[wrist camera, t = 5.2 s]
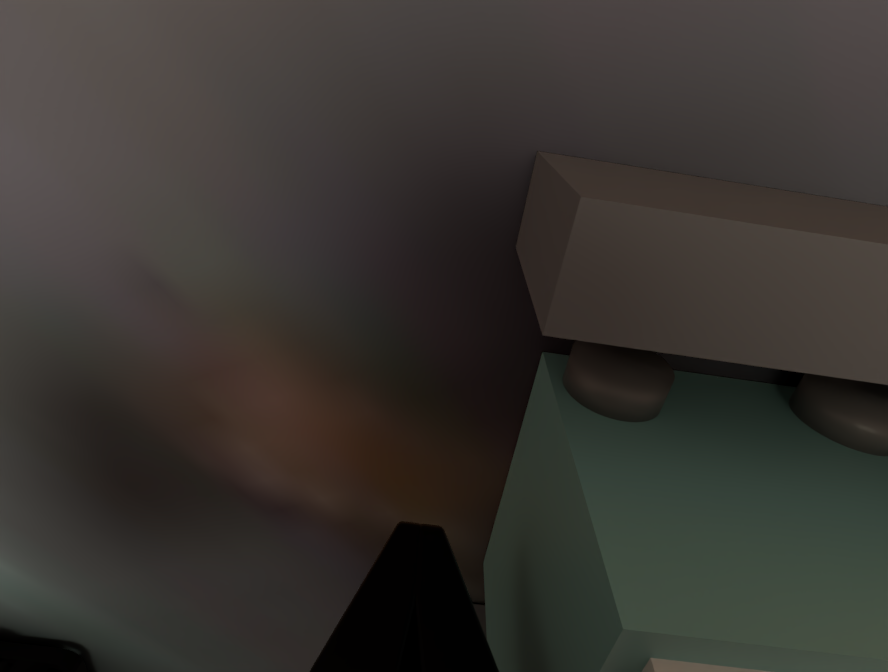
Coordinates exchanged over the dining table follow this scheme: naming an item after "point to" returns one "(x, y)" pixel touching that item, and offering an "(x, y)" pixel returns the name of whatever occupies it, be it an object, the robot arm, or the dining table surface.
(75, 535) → the dining table surface
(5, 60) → the dining table surface
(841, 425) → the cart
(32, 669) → the robot arm
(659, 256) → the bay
